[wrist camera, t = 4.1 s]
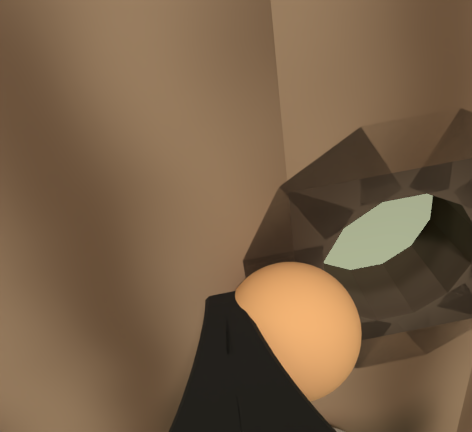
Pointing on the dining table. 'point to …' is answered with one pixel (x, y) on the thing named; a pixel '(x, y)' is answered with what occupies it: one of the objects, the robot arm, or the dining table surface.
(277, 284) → the orange ball
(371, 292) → the board
